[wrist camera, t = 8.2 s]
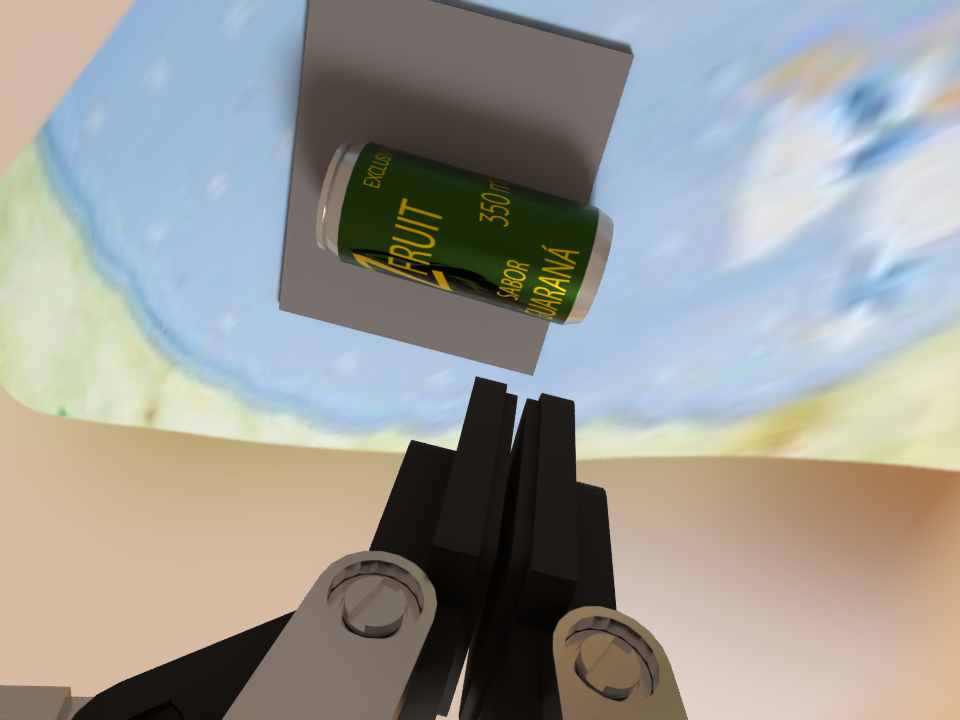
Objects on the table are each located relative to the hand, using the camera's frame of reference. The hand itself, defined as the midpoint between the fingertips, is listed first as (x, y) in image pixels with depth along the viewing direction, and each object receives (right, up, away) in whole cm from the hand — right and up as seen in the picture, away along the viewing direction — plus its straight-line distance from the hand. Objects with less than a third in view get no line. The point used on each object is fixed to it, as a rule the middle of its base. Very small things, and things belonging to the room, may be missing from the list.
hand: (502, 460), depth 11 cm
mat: (-2, +10, +20) cm, 23 cm away
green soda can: (+5, +6, +18) cm, 20 cm away
